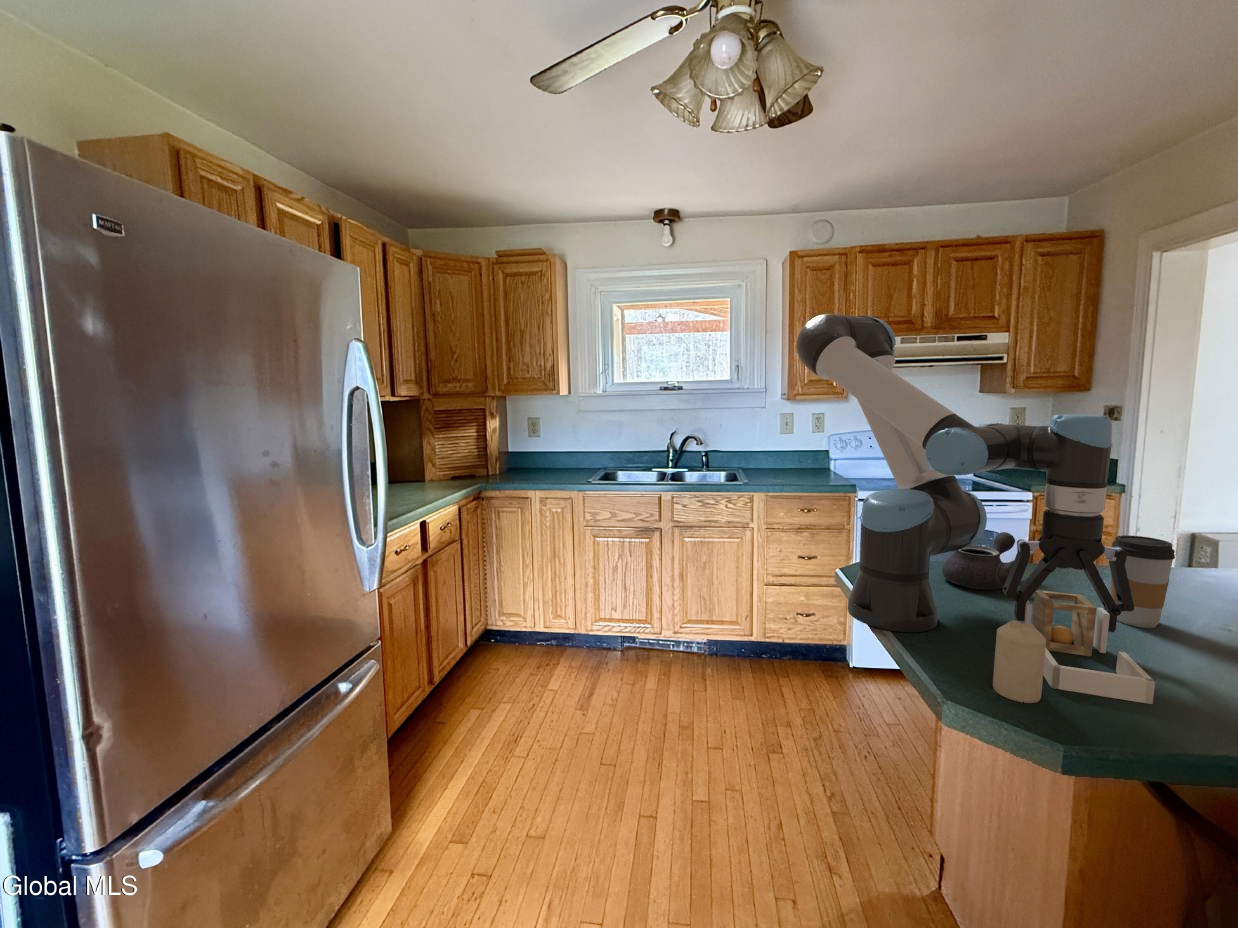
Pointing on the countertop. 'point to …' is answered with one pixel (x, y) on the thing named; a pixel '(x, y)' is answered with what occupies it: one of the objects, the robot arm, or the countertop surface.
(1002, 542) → the teapot
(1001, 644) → the candle
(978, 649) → the countertop surface
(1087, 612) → the wooden cage
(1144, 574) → the coffee cup
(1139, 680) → the white u-shaped corral
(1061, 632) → the ball
